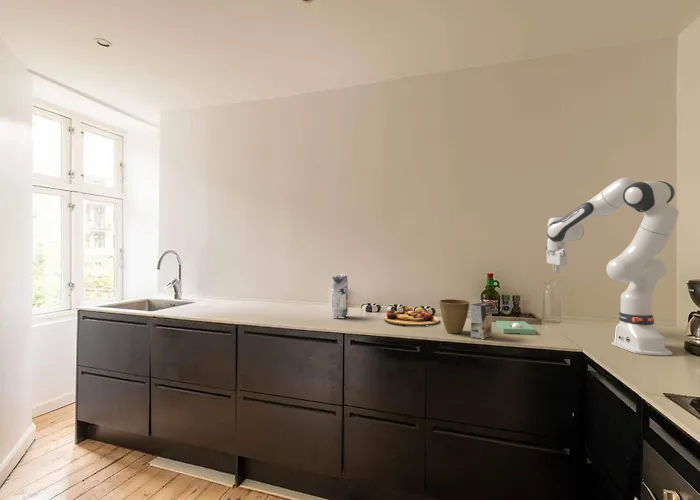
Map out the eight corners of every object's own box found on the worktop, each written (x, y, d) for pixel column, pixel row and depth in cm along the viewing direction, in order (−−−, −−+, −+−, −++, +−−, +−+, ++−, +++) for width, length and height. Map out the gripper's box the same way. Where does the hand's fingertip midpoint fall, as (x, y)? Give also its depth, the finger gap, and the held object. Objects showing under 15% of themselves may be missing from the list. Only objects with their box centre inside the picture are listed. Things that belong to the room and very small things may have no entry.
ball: (522, 324, 195) (520, 322, 199) (513, 323, 196) (511, 321, 200) (521, 333, 196) (519, 330, 200) (512, 332, 196) (510, 329, 201)
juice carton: (331, 318, 236) (330, 274, 235) (334, 315, 246) (334, 273, 246) (345, 319, 234) (345, 274, 234) (348, 316, 245) (348, 273, 244)
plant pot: (437, 334, 193) (437, 302, 193) (441, 328, 207) (441, 298, 207) (468, 336, 188) (468, 304, 188) (470, 330, 202) (470, 299, 202)
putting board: (535, 334, 192) (535, 329, 192) (503, 333, 195) (503, 328, 195) (524, 326, 212) (524, 321, 212) (495, 325, 214) (495, 320, 214)
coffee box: (483, 340, 182) (483, 305, 182) (470, 337, 187) (470, 304, 187) (492, 336, 189) (492, 303, 188) (479, 334, 193) (479, 302, 193)
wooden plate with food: (385, 327, 212) (385, 312, 212) (383, 315, 244) (383, 302, 244) (444, 328, 211) (444, 313, 211) (434, 317, 243) (434, 303, 242)
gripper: (570, 247, 194) (570, 275, 195) (556, 247, 214) (556, 272, 215) (556, 247, 196) (556, 275, 196) (544, 247, 216) (544, 271, 216)
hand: (556, 273), depth 205 cm, fingers closed
